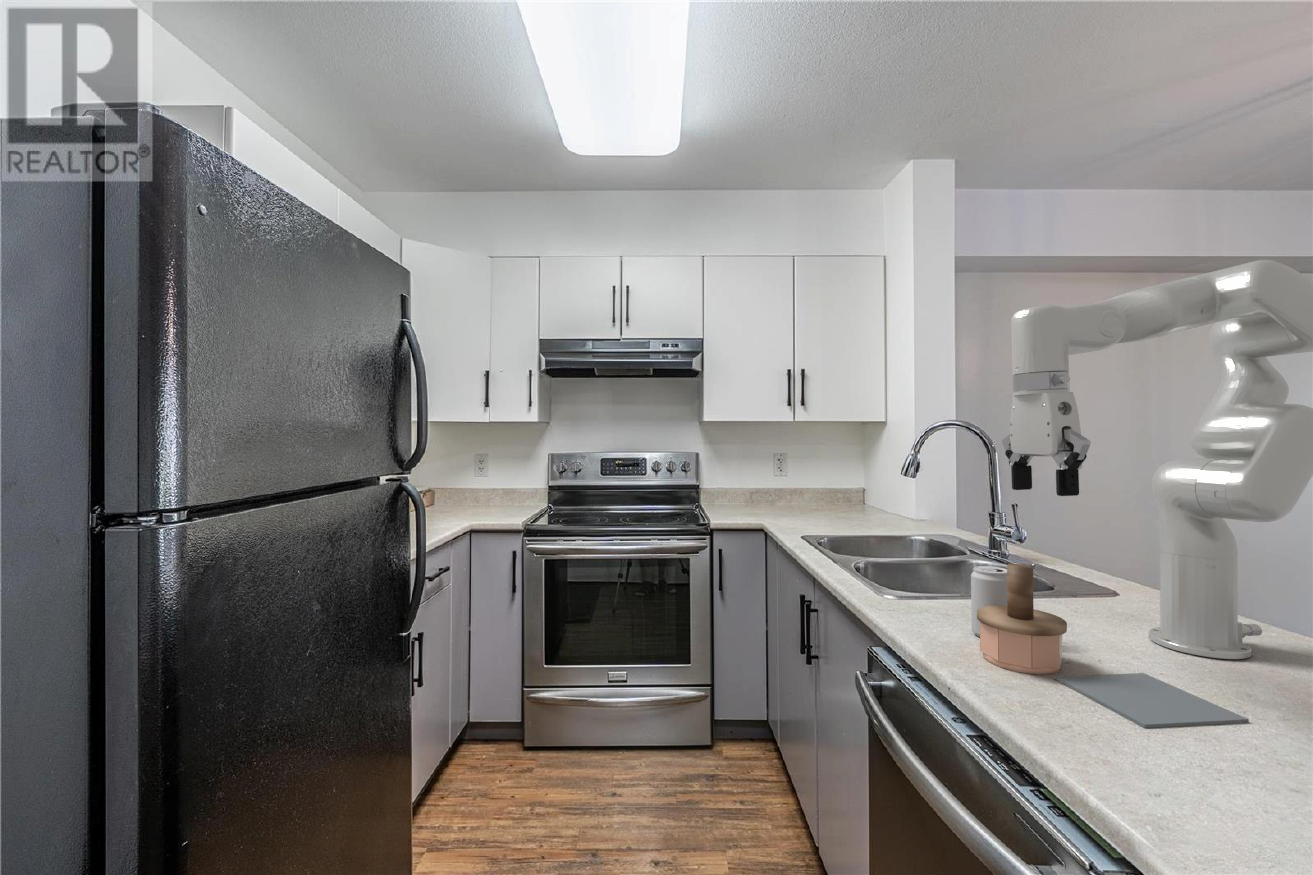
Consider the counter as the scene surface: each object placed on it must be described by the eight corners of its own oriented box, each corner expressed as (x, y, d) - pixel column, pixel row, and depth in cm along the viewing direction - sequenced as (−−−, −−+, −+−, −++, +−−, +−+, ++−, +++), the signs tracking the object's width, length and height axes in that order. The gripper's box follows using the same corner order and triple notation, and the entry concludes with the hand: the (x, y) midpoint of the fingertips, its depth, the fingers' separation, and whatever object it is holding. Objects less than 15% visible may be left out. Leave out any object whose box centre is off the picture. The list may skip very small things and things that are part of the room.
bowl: (1027, 647, 96) (1027, 611, 96) (1078, 673, 86) (1078, 633, 86) (968, 649, 96) (968, 613, 96) (1012, 676, 85) (1012, 635, 85)
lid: (1028, 610, 97) (1028, 557, 97) (1087, 634, 85) (1087, 574, 85) (960, 612, 96) (960, 559, 96) (1011, 637, 84) (1010, 576, 84)
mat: (1143, 675, 85) (1143, 673, 85) (1248, 722, 71) (1248, 719, 71) (1054, 679, 84) (1054, 676, 84) (1144, 727, 70) (1144, 724, 70)
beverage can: (1019, 644, 98) (1019, 573, 98) (978, 641, 99) (978, 572, 99) (1004, 631, 104) (1004, 565, 104) (966, 629, 106) (966, 564, 106)
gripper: (1109, 379, 83) (1112, 497, 83) (1024, 389, 101) (1027, 486, 101) (1060, 380, 83) (1064, 499, 83) (983, 390, 100) (986, 488, 100)
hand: (1043, 492), depth 92 cm, fingers open, 9 cm apart
